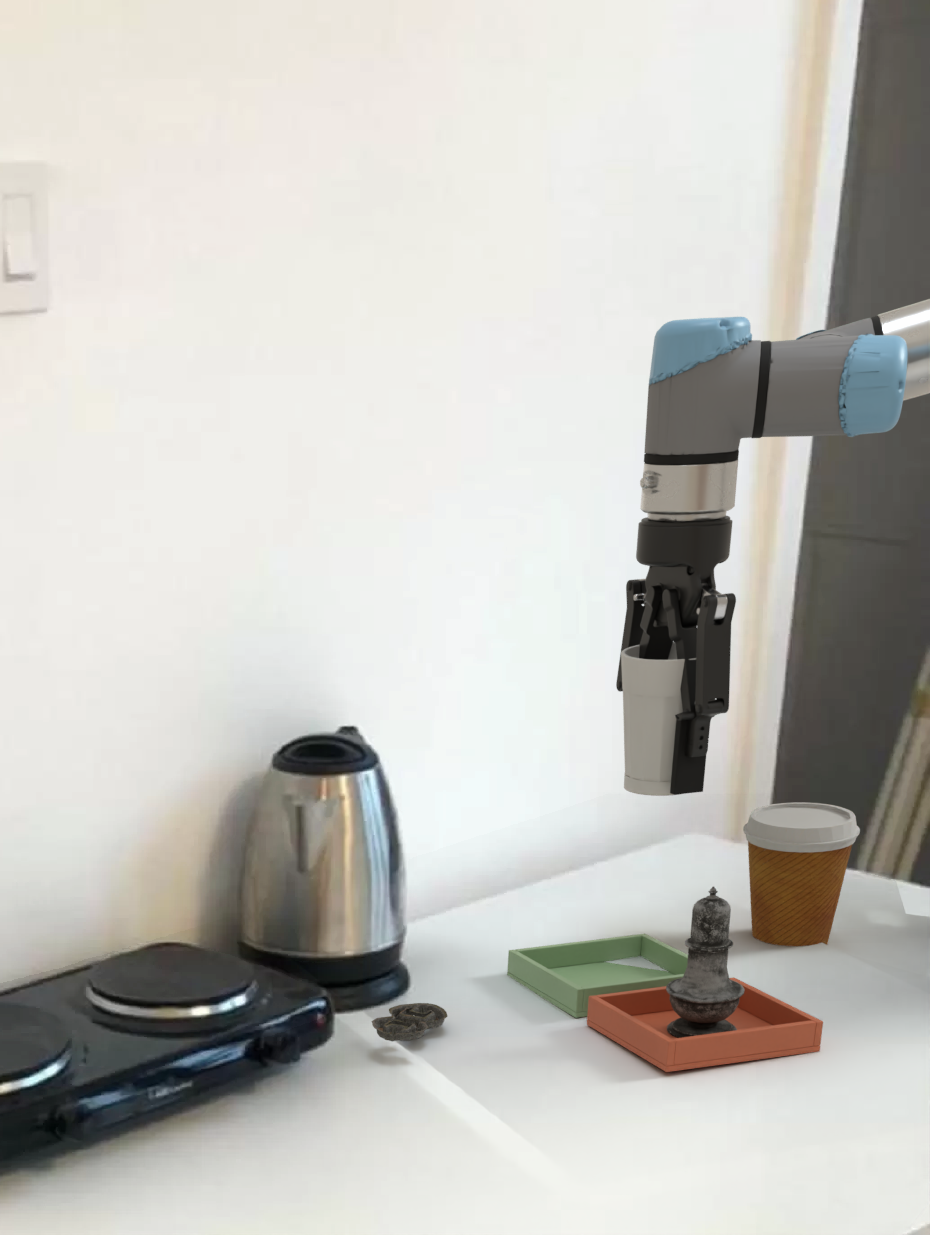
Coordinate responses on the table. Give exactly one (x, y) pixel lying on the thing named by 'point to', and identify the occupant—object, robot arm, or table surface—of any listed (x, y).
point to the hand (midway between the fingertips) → (663, 783)
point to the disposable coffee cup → (797, 869)
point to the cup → (650, 719)
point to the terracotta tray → (758, 1036)
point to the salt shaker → (705, 974)
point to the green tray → (593, 969)
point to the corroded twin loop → (409, 1021)
